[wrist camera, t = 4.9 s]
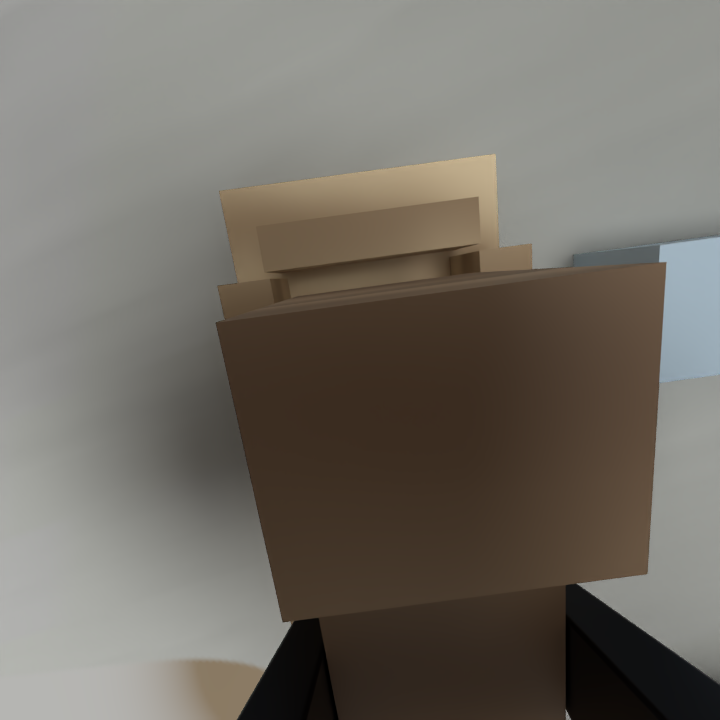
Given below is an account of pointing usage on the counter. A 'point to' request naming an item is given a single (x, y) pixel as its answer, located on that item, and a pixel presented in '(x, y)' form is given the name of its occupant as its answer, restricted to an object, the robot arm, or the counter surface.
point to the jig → (364, 231)
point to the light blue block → (680, 301)
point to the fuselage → (451, 474)
